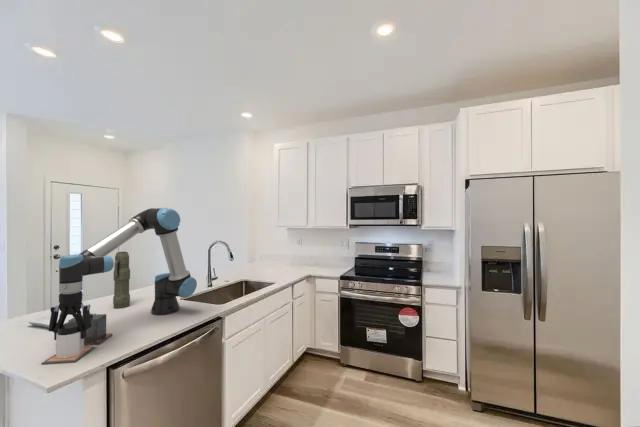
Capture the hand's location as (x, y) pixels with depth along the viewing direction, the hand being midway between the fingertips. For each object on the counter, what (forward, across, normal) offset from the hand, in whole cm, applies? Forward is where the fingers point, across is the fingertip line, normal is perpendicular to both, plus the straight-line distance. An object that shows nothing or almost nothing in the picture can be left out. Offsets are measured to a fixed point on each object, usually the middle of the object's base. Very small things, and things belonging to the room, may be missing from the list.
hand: (70, 346), depth 122 cm
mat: (+4, 0, 0) cm, 4 cm away
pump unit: (+4, -2, +15) cm, 16 cm away
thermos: (+4, -13, +68) cm, 69 cm away
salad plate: (+4, -30, +43) cm, 53 cm away
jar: (+3, 0, 0) cm, 3 cm away
